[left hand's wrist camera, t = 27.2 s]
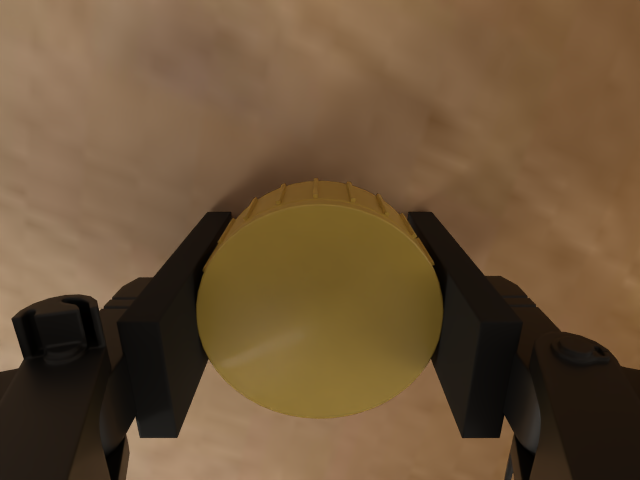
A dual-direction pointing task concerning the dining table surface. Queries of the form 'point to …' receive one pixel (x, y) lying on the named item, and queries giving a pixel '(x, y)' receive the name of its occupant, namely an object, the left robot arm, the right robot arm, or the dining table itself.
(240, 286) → the lid
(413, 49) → the dining table surface
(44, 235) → the dining table surface
